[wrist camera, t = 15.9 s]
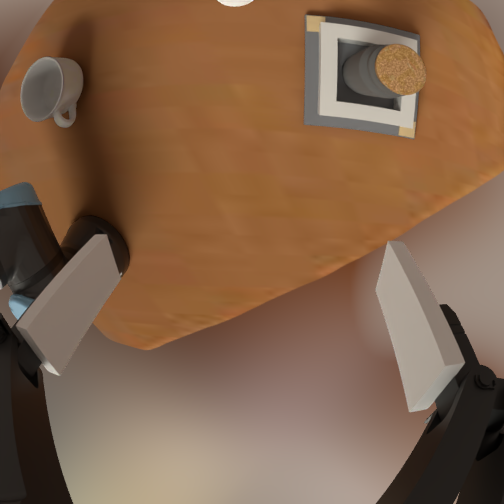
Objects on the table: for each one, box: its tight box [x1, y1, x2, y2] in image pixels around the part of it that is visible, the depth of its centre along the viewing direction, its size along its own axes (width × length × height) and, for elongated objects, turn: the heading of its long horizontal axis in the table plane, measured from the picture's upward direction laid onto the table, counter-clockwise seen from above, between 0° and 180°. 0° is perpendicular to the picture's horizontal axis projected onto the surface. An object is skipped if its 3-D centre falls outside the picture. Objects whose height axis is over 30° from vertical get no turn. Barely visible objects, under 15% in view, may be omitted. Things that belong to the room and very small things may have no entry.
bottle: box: [342, 44, 426, 98], centre depth 23 cm, size 6×6×15 cm
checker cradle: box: [304, 15, 420, 139], centre depth 29 cm, size 16×16×4 cm
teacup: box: [21, 57, 83, 128], centre depth 32 cm, size 14×11×8 cm
